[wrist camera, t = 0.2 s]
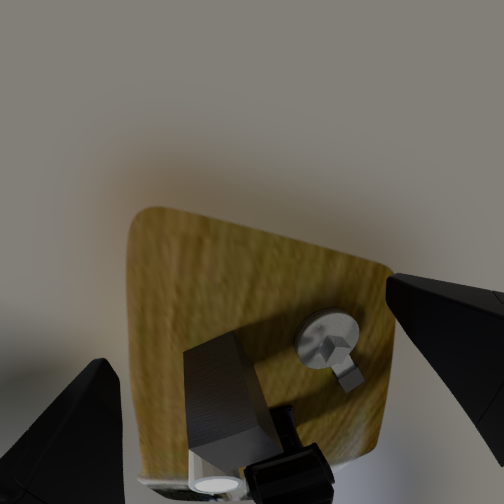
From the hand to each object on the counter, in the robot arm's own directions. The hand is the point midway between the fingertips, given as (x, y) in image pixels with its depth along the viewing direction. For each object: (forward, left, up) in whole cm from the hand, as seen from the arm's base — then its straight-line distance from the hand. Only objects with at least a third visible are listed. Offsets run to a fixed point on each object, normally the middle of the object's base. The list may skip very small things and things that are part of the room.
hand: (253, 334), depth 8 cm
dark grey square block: (-14, +3, -15) cm, 20 cm away
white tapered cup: (-30, +9, -15) cm, 35 cm away
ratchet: (-18, -9, -15) cm, 25 cm away
